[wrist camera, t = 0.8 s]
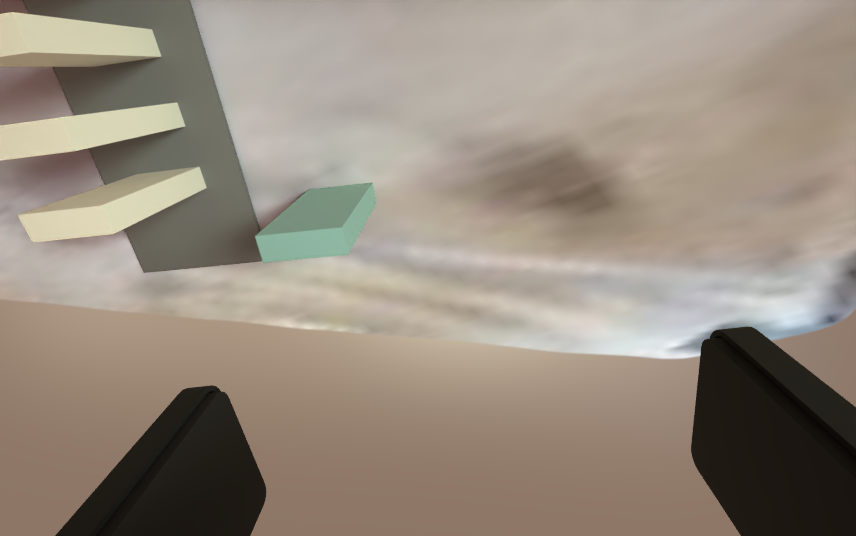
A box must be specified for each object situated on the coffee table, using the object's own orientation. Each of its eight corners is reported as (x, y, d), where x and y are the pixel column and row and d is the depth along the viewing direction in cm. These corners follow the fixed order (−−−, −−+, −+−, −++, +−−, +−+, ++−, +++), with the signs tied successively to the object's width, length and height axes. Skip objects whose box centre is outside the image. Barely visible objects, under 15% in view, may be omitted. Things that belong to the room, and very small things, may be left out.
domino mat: (-3, -69, 29) (-9, -71, 29) (159, -99, 28) (155, -101, 28) (146, 270, 40) (144, 272, 40) (268, 259, 39) (266, 260, 39)
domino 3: (137, 174, 36) (17, 215, 26) (199, 166, 35) (100, 205, 25) (146, 194, 37) (32, 242, 27) (206, 187, 36) (113, 233, 26)
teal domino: (308, 189, 36) (254, 236, 26) (372, 182, 36) (342, 227, 26) (313, 210, 37) (263, 262, 27) (376, 203, 36) (348, 254, 26)
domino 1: (83, 40, 32) (-85, 28, 22) (152, 29, 31) (11, 11, 21) (93, 66, 32) (-64, 66, 23) (161, 56, 32) (30, 52, 22)
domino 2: (111, 111, 34) (-30, 129, 24) (177, 102, 33) (60, 117, 23) (121, 134, 35) (-12, 162, 25) (185, 126, 34) (75, 150, 24)
